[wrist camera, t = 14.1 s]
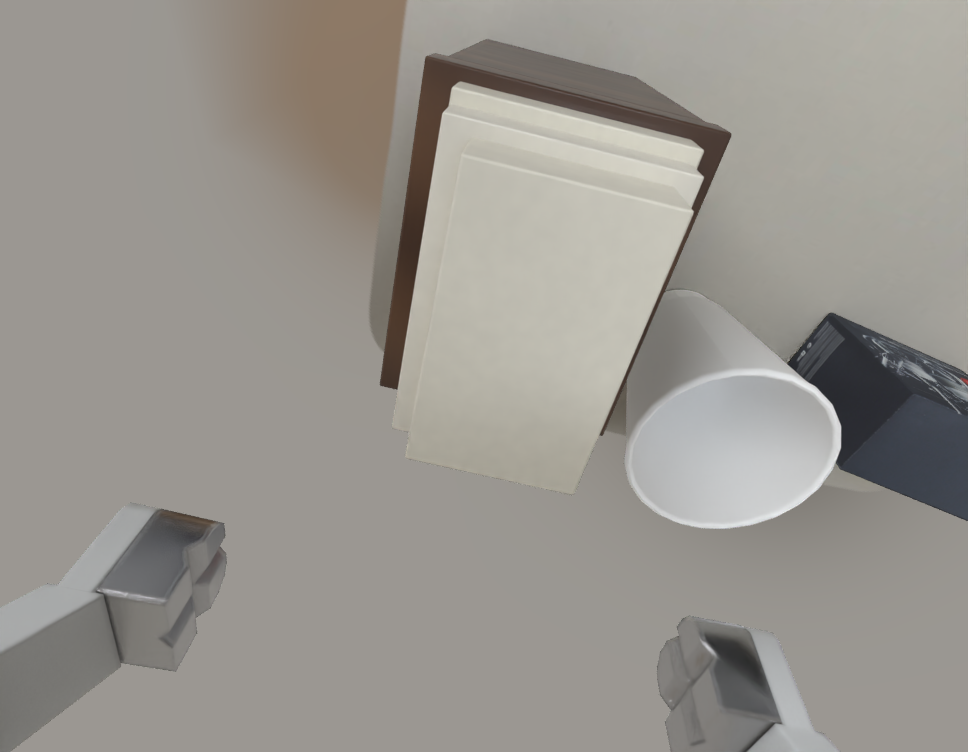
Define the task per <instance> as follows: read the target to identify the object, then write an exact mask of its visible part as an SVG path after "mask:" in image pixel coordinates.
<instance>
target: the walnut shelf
mask: <svg viewBox="0 0 968 752" xmlns="http://www.w3.org/2000/svg"><path fill="white" fill-rule="evenodd" d="M458 82H465V83H469V84H473V85H477V86H480V87H484V88H488V89H492V90H496V91H500V92H504V93H508V94H512V95H516V96H520V97H524V98H528V99H532V100H536V101H540V102H544V103H548V104H552V105H556V106H560V107H563V108H567V109H571V110H575V111H579V112H583V113H587V114H591V115H595V116H599V117H603V118H607V119H611V120H615V121H619V122H623V123H627V124H631V125H635V126H639V127H643V128H647V129H650V130H654V131H658V132H662V133H666V134H670V135H674V136H678V137H682V138H686V139H690V140H692V141H693V142H694V143H696V144H697V145H698V146H699V147H701V148H702V149H703V150H704V153H703V156H702V158H701V161H700V163H699V165H698V168H697V171H698V172H699V173H700V174H701V175H702V176H703V177H704V180H703V182H702V184H701V187H700V189H699V191H698V194H697V196H696V199H695V201H694V203H693V206H692V208H691V209H692V210H693V211H694V212H693V216H692V218H691V221H690V223H689V226H688V228H687V230H686V233H685V235H684V237H683V240H682V242H681V244H680V247H679V249H678V251H677V254H676V256H675V259H674V261H673V263H672V266H671V268H670V270H669V273H668V275H667V277H666V280H665V282H664V284H663V287H662V289H661V291H660V294H659V296H658V299H657V301H656V303H655V306H654V308H653V310H652V313H651V315H650V317H649V320H648V322H647V324H646V327H645V329H644V332H643V334H642V336H641V339H640V341H639V343H638V346H637V348H636V350H635V353H634V355H633V357H632V360H631V362H630V364H629V367H628V369H627V372H626V374H625V376H624V379H623V381H622V383H621V386H620V388H619V390H618V393H617V395H616V397H615V400H614V402H613V404H612V407H611V409H610V412H609V414H608V416H607V419H606V421H605V423H604V426H603V428H602V430H601V433H600V435H601V436H602V435H603V434H604V431H605V429H606V427H607V425H608V422H609V420H610V418H611V415H612V413H613V411H614V408H615V406H616V404H617V401H618V399H619V397H620V394H621V392H622V390H623V387H624V385H625V383H626V380H627V378H628V376H629V373H630V371H631V369H632V366H633V364H634V362H635V359H636V357H637V355H638V352H639V350H640V348H641V345H642V343H643V341H644V338H645V336H646V334H647V331H648V329H649V327H650V324H651V322H652V320H653V317H654V315H655V313H656V310H657V308H658V306H659V303H660V301H661V299H662V296H663V294H664V292H665V289H666V287H667V285H668V282H669V280H670V278H671V275H672V273H673V271H674V268H675V266H676V264H677V261H678V259H679V257H680V254H681V252H682V250H683V247H684V245H685V243H686V240H687V238H688V236H689V233H690V231H691V229H692V226H693V224H694V222H695V219H696V217H697V215H698V212H699V210H700V208H701V205H702V203H703V201H704V198H705V196H706V194H707V192H708V189H709V187H710V185H711V182H712V180H713V178H714V175H715V173H716V171H717V168H718V166H719V164H720V161H721V159H722V157H723V154H724V152H725V150H726V147H727V145H728V143H729V140H730V138H731V133H730V132H728V131H727V130H725V129H723V128H722V127H720V126H718V125H715V124H711V123H707V122H705V121H703V120H702V119H700V118H699V117H697V116H695V115H694V114H692V113H691V112H689V111H688V110H686V109H685V108H683V107H681V106H680V105H678V104H677V103H675V102H674V101H672V100H670V99H669V98H667V97H666V96H664V95H663V94H661V93H660V92H658V91H656V90H655V89H653V88H652V87H650V86H649V85H647V84H646V83H644V82H642V81H641V80H639V79H638V78H636V77H633V76H629V75H625V74H621V73H617V72H613V71H609V70H605V69H601V68H598V67H594V66H590V65H586V64H582V63H578V62H574V61H570V60H566V59H563V58H559V57H555V56H551V55H547V54H543V53H539V52H535V51H531V50H528V49H524V48H520V47H516V46H512V45H508V44H504V43H500V42H496V41H493V40H489V39H486V40H483V41H481V42H479V43H477V44H475V45H472V46H470V47H468V48H466V49H463V50H461V51H459V52H457V53H454V54H452V55H450V56H444V55H441V54H437V53H435V54H432V55H429V56H426V58H425V65H424V72H423V79H422V86H421V93H420V100H419V107H418V115H417V122H416V129H415V136H414V143H413V150H412V158H411V165H410V172H409V179H408V186H407V193H406V200H405V208H404V215H403V222H402V229H401V236H400V243H399V251H398V258H397V265H396V272H395V279H394V286H393V293H392V301H391V308H390V315H389V322H388V329H387V336H386V344H385V351H384V358H383V366H382V372H381V379H380V385H381V386H384V387H388V388H393V389H397V390H398V384H399V378H400V372H401V366H402V359H403V353H404V347H405V341H406V335H407V328H408V322H409V316H410V310H411V304H412V298H413V291H414V285H415V279H416V273H417V267H418V260H419V254H420V248H421V242H422V236H423V230H424V223H425V217H426V211H427V205H428V199H429V192H430V186H431V180H432V174H433V168H434V162H435V155H436V149H437V143H438V137H439V131H440V125H441V118H442V113H443V112H444V111H445V110H446V109H447V108H448V107H449V101H450V95H451V89H452V87H453V86H454V85H456V84H457V83H458Z"/></svg>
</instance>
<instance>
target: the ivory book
mask: <svg viewBox="0 0 968 752" xmlns="http://www.w3.org/2000/svg"><path fill="white" fill-rule="evenodd" d="M693 212H694V211H693V210H692V209H691V207H690V206H689V205H688V204H687V202H686V201H685V200H684V199H683V197H682V196H681V195H680V193H679V192H678V191H677V190H676V188H674V187H672V186H668V185H664V184H660V183H656V182H652V181H648V180H644V179H639V178H635V177H631V176H627V175H623V174H619V173H615V172H611V171H607V170H603V169H599V168H595V167H591V166H587V165H583V164H579V163H575V162H571V161H567V160H563V159H559V158H555V157H551V156H547V155H543V154H539V153H535V152H531V151H527V150H523V149H519V148H515V147H511V146H507V145H503V144H499V143H495V142H491V141H487V140H483V139H479V138H475V137H472V138H471V139H470V140H469V142H468V144H467V145H466V147H465V149H464V151H463V153H462V154H461V156H460V161H459V167H458V172H457V177H456V183H455V188H454V194H453V199H452V204H451V210H450V215H449V221H448V226H447V231H446V237H445V242H444V248H443V253H442V258H441V264H440V269H439V275H438V280H437V285H436V291H435V296H434V302H433V307H432V312H431V318H430V323H429V329H428V334H427V339H426V345H425V350H424V356H423V361H422V366H421V372H420V377H419V383H418V388H417V393H416V399H415V404H414V410H413V415H412V420H411V426H410V431H409V437H408V442H407V448H406V454H405V458H406V459H410V460H415V461H419V462H424V463H428V464H433V465H437V466H442V467H446V468H451V469H455V470H460V471H464V472H469V473H474V474H478V475H482V476H487V477H492V478H496V479H501V480H505V481H510V482H515V483H519V484H523V485H528V486H532V487H537V488H541V489H546V490H551V491H555V492H560V493H564V494H569V495H574V494H575V492H576V489H577V487H578V484H579V482H580V480H581V477H582V475H583V473H584V470H585V468H586V466H587V463H588V461H589V459H590V456H591V454H592V452H593V449H594V446H595V444H596V442H597V440H598V437H599V435H600V433H601V430H602V428H603V426H604V423H605V421H606V419H607V416H608V414H609V412H610V409H611V407H612V404H613V402H614V400H615V397H616V395H617V393H618V390H619V388H620V386H621V383H622V381H623V379H624V376H625V374H626V372H627V369H628V367H629V364H630V362H631V360H632V357H633V355H634V353H635V350H636V348H637V346H638V343H639V341H640V339H641V336H642V334H643V332H644V329H645V327H646V324H647V322H648V320H649V317H650V315H651V313H652V310H653V308H654V306H655V303H656V301H657V299H658V296H659V294H660V291H661V289H662V287H663V284H664V282H665V280H666V277H667V275H668V273H669V270H670V268H671V266H672V263H673V261H674V259H675V256H676V254H677V251H678V249H679V247H680V244H681V242H682V240H683V237H684V235H685V233H686V230H687V228H688V226H689V223H690V221H691V218H692V216H693Z"/></svg>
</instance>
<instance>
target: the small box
mask: <svg viewBox="0 0 968 752" xmlns="http://www.w3.org/2000/svg"><path fill="white" fill-rule="evenodd" d="M787 365H789V366H790V367H791V368H792V369H793V370H794V371H795V372H797V373H798V374H799V375H800V376H801V377H802V378H803V379H804V380H806V381H807V382H808V383H810V384H812V385H814V386H815V387H817V388H818V389H819V391H820V392H821V393H822V394H823V395H824V396H825V397H826V398H827V399H828V400H829V401H830V402H831V403H832V405H833V407H834V410H835V412H836V414H837V417H838V419H839V422H840V424H841V449H840V452H839V455H838V457H837V460H836V464H837V465H838V467H839V468H840V469H841V470H843V471H846V472H849V473H851V474H854V475H856V476H859V477H861V478H863V479H866V480H868V481H871V482H873V483H876V484H878V485H880V486H883V487H885V488H888V489H890V490H893V491H895V492H898V493H900V494H903V495H905V496H907V497H910V498H912V499H915V500H918V501H920V502H922V503H925V504H927V505H930V506H932V507H934V508H937V509H939V510H942V511H944V512H947V513H949V514H952V515H954V516H957V517H959V518H961V519H964V520H966V521H968V375H967V374H966V373H965V372H963V371H962V370H960V369H957V368H955V367H953V366H951V365H949V364H946V363H944V362H942V361H939V360H937V359H935V358H933V357H931V356H928V355H926V354H924V353H921V352H919V351H917V350H915V349H912V348H910V347H908V346H906V345H903V344H901V343H899V342H897V341H895V340H892V339H890V338H888V337H885V336H883V335H881V334H879V333H876V332H874V331H872V330H869V329H867V328H865V327H863V326H861V325H858V324H856V323H854V322H851V321H849V320H847V319H845V318H843V317H841V316H838V315H836V314H834V313H830V314H828V316H827V317H826V318H825V319H824V321H823V322H822V323H821V324H820V325H819V326H818V328H817V329H816V330H815V331H814V333H813V334H812V335H811V336H810V337H809V339H808V340H807V341H806V342H805V344H804V345H803V346H802V347H801V348H800V349H799V351H798V352H797V353H796V354H795V356H794V357H793V358H792V359H791V361H790V362H789V363H788V364H787Z"/></svg>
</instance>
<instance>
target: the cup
mask: <svg viewBox="0 0 968 752" xmlns="http://www.w3.org/2000/svg"><path fill="white" fill-rule="evenodd" d="M840 449H841V424H840V422H839V419H838V417H837V414H836V412H835V410H834V407H833V405H832V403H831V402H830V401H829V400H828V399H827V398H826V397H825V396H824V395H823V394H822V393H821V392H820V391H819V389H818V388H817V387H815V386H814V385H812V384H810V383H808V382H807V381H806V380H804V379H803V378H802V377H801V376H800V375H799V374H798V373H797V372H795V371H794V370H793V369H792V368H791V367H790V366H789V365H787V364H786V363H785V362H784V361H783V360H782V359H781V358H780V357H778V356H777V355H776V354H775V353H774V352H773V351H772V350H770V349H769V348H768V347H767V346H766V345H765V344H764V343H763V342H761V341H760V340H759V339H758V338H757V337H756V336H755V335H753V334H752V333H751V332H750V331H749V330H748V329H747V328H746V327H744V326H743V325H742V324H741V323H740V322H739V321H738V320H736V319H735V318H734V317H733V316H732V315H731V314H730V313H729V312H727V311H726V310H725V309H724V308H723V307H722V306H720V305H718V304H716V303H715V302H713V301H711V300H708V299H707V298H706V297H705V296H703V295H701V294H699V293H698V292H694V291H690V290H671V291H667V292H664V294H663V296H662V299H661V301H660V303H659V306H658V308H657V310H656V313H655V315H654V317H653V320H652V322H651V324H650V327H649V329H648V331H647V334H646V336H645V338H644V341H643V343H642V345H641V348H640V350H639V352H638V355H637V357H636V359H635V362H634V364H633V366H632V369H631V371H630V373H629V376H628V378H627V413H626V450H625V458H624V466H625V470H626V474H627V478H628V482H629V484H630V486H631V487H632V489H633V490H634V492H635V493H636V495H637V496H638V497H639V499H640V500H641V501H642V502H643V503H644V504H646V505H647V506H648V507H649V508H651V509H652V510H653V511H654V512H655V513H657V514H659V515H661V516H663V517H665V518H668V519H670V520H672V521H674V522H676V523H679V524H683V525H688V526H693V527H697V528H708V529H729V528H736V527H743V526H749V525H754V524H757V523H760V522H763V521H766V520H769V519H772V518H775V517H777V516H779V515H781V514H783V513H785V512H787V511H789V510H791V509H792V508H794V507H796V506H798V505H799V504H801V503H802V502H803V501H804V500H806V499H807V498H808V497H809V496H810V495H812V494H813V493H814V492H815V491H816V490H818V489H819V488H820V486H821V485H822V484H823V482H824V481H825V480H826V478H827V477H828V476H829V474H830V473H831V472H832V470H833V468H834V465H835V463H836V460H837V457H838V455H839V452H840Z"/></svg>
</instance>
